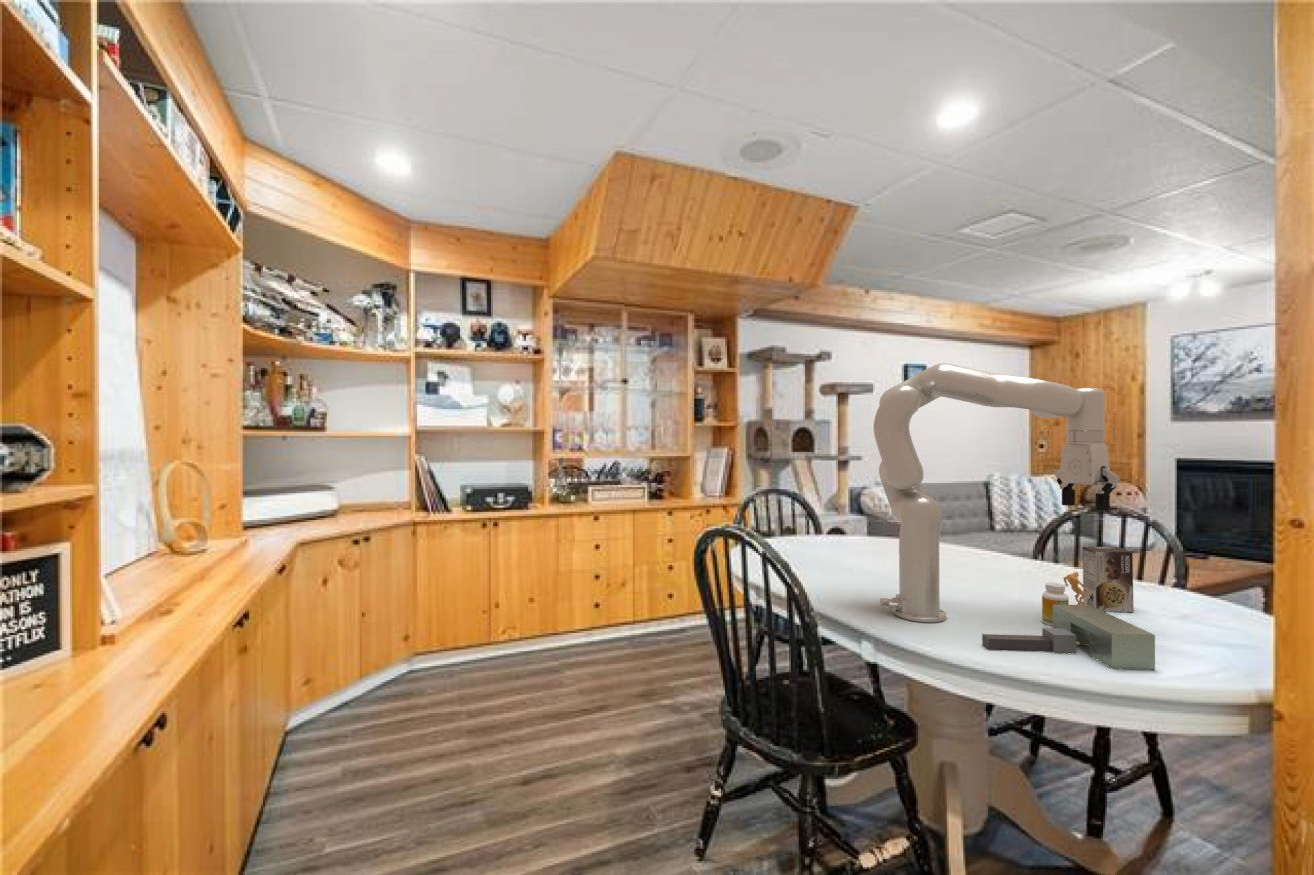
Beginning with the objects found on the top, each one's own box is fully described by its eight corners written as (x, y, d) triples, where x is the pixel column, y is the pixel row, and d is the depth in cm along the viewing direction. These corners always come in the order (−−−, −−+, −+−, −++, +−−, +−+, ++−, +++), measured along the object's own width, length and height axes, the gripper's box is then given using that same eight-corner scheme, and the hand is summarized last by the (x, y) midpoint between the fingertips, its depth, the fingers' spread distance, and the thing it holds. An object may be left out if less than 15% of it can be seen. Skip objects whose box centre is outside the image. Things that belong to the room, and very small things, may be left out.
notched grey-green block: (1111, 668, 115) (1111, 633, 115) (1052, 634, 134) (1052, 604, 134) (1155, 670, 114) (1154, 634, 114) (1089, 635, 134) (1089, 605, 134)
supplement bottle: (1060, 628, 138) (1060, 588, 138) (1037, 622, 143) (1037, 583, 143) (1073, 625, 141) (1073, 585, 141) (1049, 618, 146) (1049, 580, 146)
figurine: (1104, 624, 141) (1103, 575, 141) (1079, 624, 141) (1079, 576, 141) (1079, 614, 149) (1079, 568, 149) (1056, 614, 149) (1056, 568, 149)
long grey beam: (990, 651, 124) (990, 633, 124) (980, 644, 129) (980, 626, 129) (1081, 654, 122) (1081, 635, 122) (1068, 646, 127) (1068, 628, 127)
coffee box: (1118, 605, 156) (1118, 546, 156) (1134, 613, 150) (1134, 551, 150) (1081, 604, 158) (1081, 545, 158) (1095, 611, 151) (1095, 550, 151)
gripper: (1043, 438, 150) (1043, 503, 150) (1103, 438, 133) (1102, 512, 133) (1069, 438, 151) (1069, 503, 151) (1132, 438, 134) (1131, 512, 134)
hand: (1084, 507), depth 142 cm, fingers open, 9 cm apart
